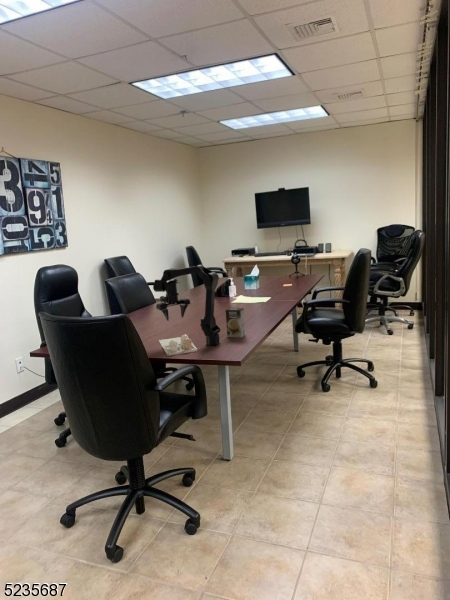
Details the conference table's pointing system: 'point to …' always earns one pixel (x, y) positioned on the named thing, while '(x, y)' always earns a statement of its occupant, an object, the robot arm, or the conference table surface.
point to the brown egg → (187, 344)
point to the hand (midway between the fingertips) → (175, 319)
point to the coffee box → (235, 322)
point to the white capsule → (173, 346)
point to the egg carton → (180, 349)
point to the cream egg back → (183, 339)
